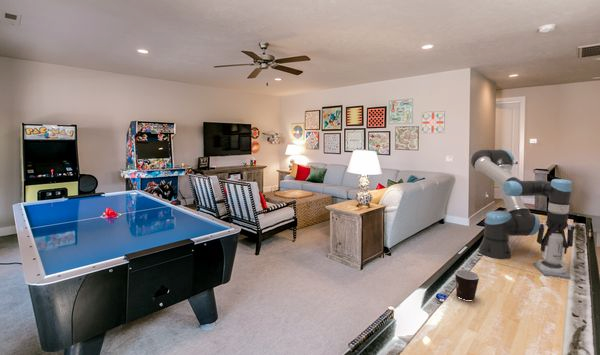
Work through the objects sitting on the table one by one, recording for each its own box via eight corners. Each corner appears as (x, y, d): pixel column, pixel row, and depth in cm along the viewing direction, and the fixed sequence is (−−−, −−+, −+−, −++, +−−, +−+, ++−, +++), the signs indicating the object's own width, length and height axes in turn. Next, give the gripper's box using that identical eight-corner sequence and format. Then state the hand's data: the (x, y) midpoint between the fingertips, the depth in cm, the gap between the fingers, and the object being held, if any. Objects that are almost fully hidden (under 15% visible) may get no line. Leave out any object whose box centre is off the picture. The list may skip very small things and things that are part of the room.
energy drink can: (555, 266, 144) (559, 235, 142) (541, 261, 150) (544, 231, 148) (562, 263, 147) (566, 233, 145) (548, 259, 152) (552, 230, 150)
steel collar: (542, 272, 146) (543, 267, 145) (533, 263, 156) (534, 258, 155) (569, 275, 142) (570, 270, 142) (558, 266, 152) (559, 261, 152)
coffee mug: (455, 289, 132) (456, 267, 131) (478, 295, 127) (480, 273, 126) (450, 302, 123) (452, 278, 121) (475, 309, 118) (477, 284, 116)
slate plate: (544, 275, 144) (544, 273, 144) (532, 263, 157) (533, 261, 157) (570, 279, 141) (570, 277, 141) (556, 266, 154) (556, 264, 154)
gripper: (537, 212, 144) (531, 259, 148) (587, 215, 138) (580, 264, 142) (531, 208, 151) (526, 253, 155) (578, 211, 145) (572, 258, 149)
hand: (552, 258), depth 148 cm, fingers closed on energy drink can, 6 cm apart
